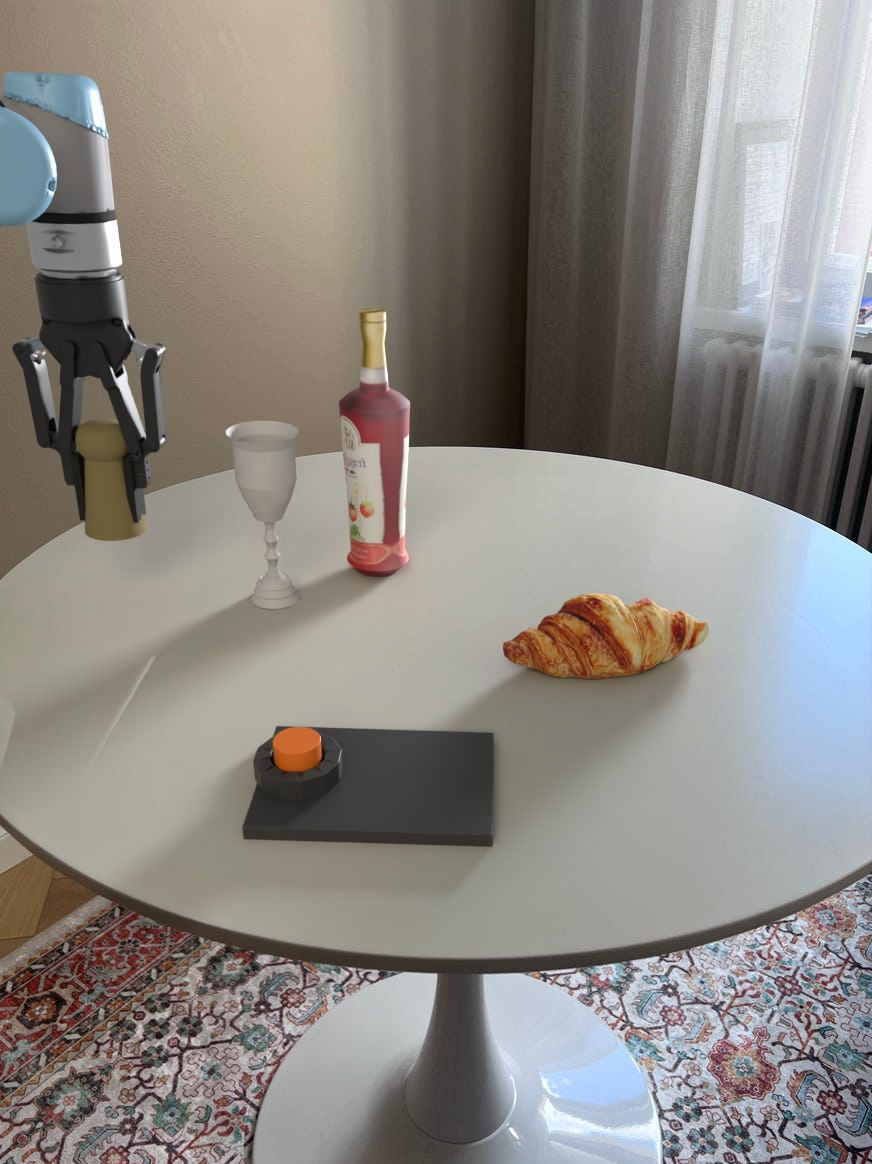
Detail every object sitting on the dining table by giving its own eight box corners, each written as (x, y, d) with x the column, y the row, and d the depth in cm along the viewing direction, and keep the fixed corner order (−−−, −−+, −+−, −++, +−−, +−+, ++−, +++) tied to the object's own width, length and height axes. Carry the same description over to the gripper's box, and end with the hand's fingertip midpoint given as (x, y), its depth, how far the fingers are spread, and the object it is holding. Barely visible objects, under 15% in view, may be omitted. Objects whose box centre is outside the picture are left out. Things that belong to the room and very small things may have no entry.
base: (240, 840, 74) (236, 807, 72) (274, 737, 85) (271, 707, 84) (492, 847, 74) (493, 815, 72) (492, 744, 85) (494, 714, 84)
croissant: (685, 660, 105) (677, 583, 105) (739, 662, 95) (731, 577, 95) (491, 687, 98) (482, 605, 98) (529, 693, 89) (519, 602, 89)
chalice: (228, 594, 108) (211, 429, 99) (284, 577, 112) (272, 416, 103) (266, 620, 103) (251, 448, 94) (322, 600, 107) (313, 434, 98)
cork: (81, 542, 99) (64, 432, 94) (87, 519, 105) (71, 413, 99) (146, 539, 101) (133, 430, 96) (149, 516, 106) (136, 412, 101)
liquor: (423, 572, 114) (424, 314, 100) (367, 588, 110) (359, 322, 96) (388, 549, 119) (383, 301, 105) (333, 564, 115) (321, 308, 101)
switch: (270, 772, 77) (268, 753, 76) (279, 744, 80) (277, 725, 79) (317, 773, 77) (316, 754, 76) (325, 746, 80) (323, 727, 79)
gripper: (-39, 273, 87) (10, 527, 99) (164, 282, 87) (190, 534, 99) (-1, 260, 94) (41, 499, 105) (187, 268, 94) (209, 506, 105)
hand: (113, 516), depth 102 cm, fingers closed on cork, 4 cm apart
